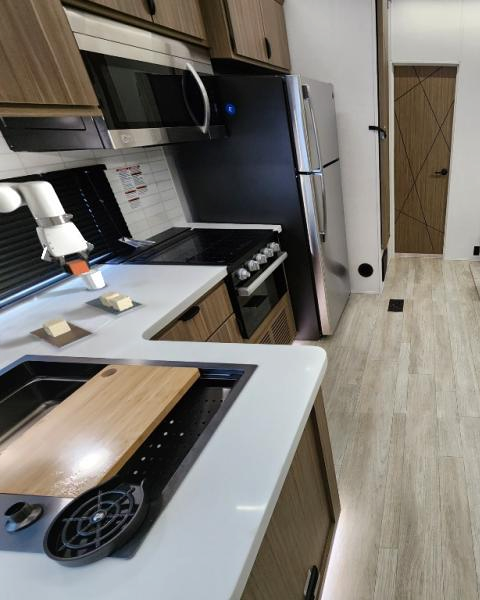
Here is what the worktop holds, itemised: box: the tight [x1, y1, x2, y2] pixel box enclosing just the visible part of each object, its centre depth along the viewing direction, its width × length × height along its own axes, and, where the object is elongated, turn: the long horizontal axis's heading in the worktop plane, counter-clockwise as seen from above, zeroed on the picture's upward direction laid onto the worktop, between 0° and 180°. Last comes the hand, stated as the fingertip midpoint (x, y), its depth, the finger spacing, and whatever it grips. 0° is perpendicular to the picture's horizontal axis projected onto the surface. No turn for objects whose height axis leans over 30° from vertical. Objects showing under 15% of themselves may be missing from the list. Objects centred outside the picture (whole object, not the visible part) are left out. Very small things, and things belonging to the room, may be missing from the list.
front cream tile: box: [41, 317, 71, 337], centre depth 109 cm, size 4×4×4 cm
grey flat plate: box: [84, 296, 143, 316], centre depth 127 cm, size 22×9×1 cm, turn 64°
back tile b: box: [98, 290, 121, 307], centre depth 126 cm, size 4×4×4 cm
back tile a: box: [109, 294, 133, 311], centre depth 124 cm, size 4×4×4 cm
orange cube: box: [65, 258, 91, 277], centre depth 117 cm, size 4×4×4 cm
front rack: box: [29, 321, 94, 349], centre depth 110 cm, size 20×9×1 cm, turn 64°
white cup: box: [78, 268, 106, 291], centre depth 140 cm, size 7×7×7 cm
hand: (78, 271), depth 118 cm, fingers closed on orange cube, 4 cm apart
